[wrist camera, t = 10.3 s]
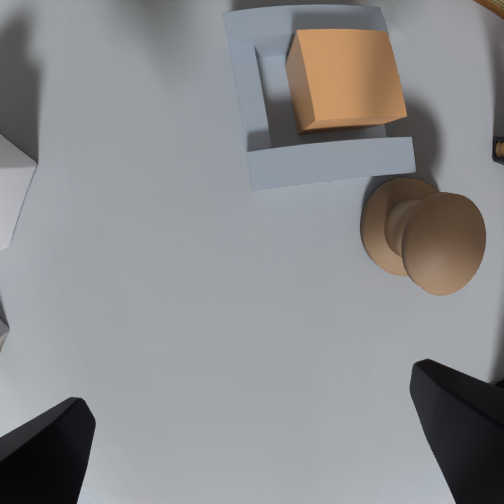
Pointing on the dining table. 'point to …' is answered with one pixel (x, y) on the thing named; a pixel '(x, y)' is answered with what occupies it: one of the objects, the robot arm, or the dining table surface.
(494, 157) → the ammunition clip
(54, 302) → the dining table surface
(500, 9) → the diary
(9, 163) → the medicine bottle
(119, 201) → the dining table surface
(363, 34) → the block
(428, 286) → the wooden knob
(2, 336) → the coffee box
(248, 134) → the notched board
